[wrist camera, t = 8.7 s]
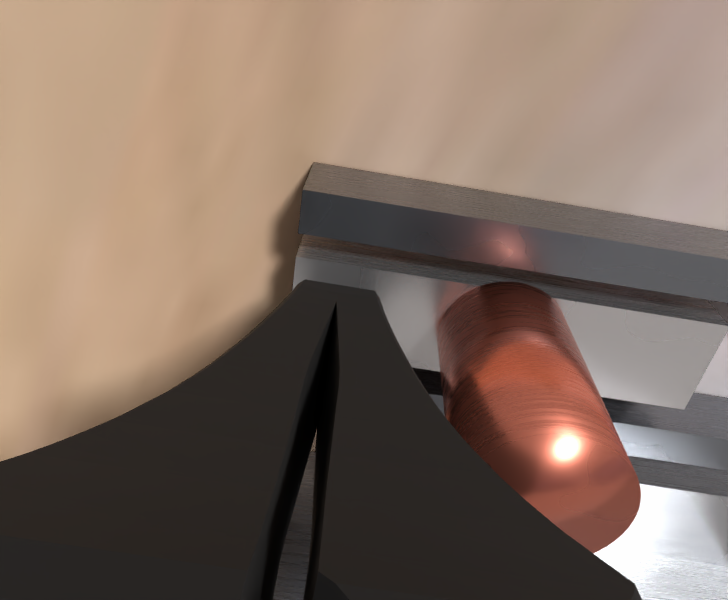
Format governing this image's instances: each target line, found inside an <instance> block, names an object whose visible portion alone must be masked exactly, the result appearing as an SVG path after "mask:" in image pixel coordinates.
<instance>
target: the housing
mask: <svg viewBox="0 0 728 600" xmlns="http://www.w3.org/2000/svg"><path fill="white" fill-rule="evenodd" d="M593 554H595V555H596V556H598V557H599V558H600V559H602V560H603V561H604V562H606V563H607V564H608V565H610V566H611V567H613V568H614V569H615V570H617V571H618V572H619V573H621V574H622V575H624V576H625V577H626V578H628V579H629V580H630V581H632V582H633V583H634V584H635V585H636V587H637V590H638V592H639V594H640V596H641V599H642V600H728V566H724V565H717V564H710V563H703V562H696V561H689V560H682V559H676V558H669V557H662V556H655V555H648V554H641V553H634V552H627V551H620V550H614V549H607V548H603V549H601V550H600V551H598V552H596V553H593Z"/></svg>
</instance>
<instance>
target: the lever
mask: <svg viewBox="0 0 728 600" xmlns="http://www.w3.org/2000/svg"><path fill="white" fill-rule="evenodd" d="M305 279H306V280H312V281H318V282H325V283H331V284H337V285H343V286H350V287H356V288H362V289H368V290H374V291H375V292H376V293H377V294H378V296H379V297H380V300H381V304H382V307H383V309H384V312H385V314H386V317H387V319H388V322H389V324H390V326H391V328H392V330H393V333H394V335H395V337H396V339H397V341H398V343H399V345H400V346H401V348H402V350H403V352H404V354H405V356H406V358H407V359H408V361H409V363H410V365H411V367H412V368H419V369H425V370H432V371H438V372H440V375H441V384H442V394H443V404H444V414H445V417H446V418H447V420H448V421H449V422H450V423H451V425H452V426H453V427H454V428H455V430H456V431H457V432H458V433H459V434H460V436H461V437H462V438H463V439H464V440H465V441H466V442H467V443H468V444H469V445H470V447H471V448H472V449H473V450H474V451H475V452H476V453H477V454H478V455H479V456H480V457H481V458H482V459H483V460H484V461H485V462H486V463H487V464H488V465H489V466H490V467H491V468H492V469H493V470H494V471H495V472H496V473H497V474H498V475H499V476H500V477H501V478H502V479H503V480H504V481H505V482H506V483H507V484H508V485H510V486H511V487H512V488H513V489H514V490H515V491H516V492H517V493H518V494H519V495H520V496H522V497H523V498H524V499H525V500H526V501H527V502H529V503H530V504H531V505H532V506H533V507H534V508H536V509H537V510H538V511H539V512H540V513H542V514H543V515H544V516H545V517H546V518H548V519H549V520H550V521H551V522H552V523H553V524H555V525H556V526H557V527H558V528H560V529H561V530H562V531H563V532H565V533H566V534H567V535H569V536H570V537H571V538H573V539H574V540H576V541H577V542H578V543H580V544H581V545H582V546H584V547H585V548H587V549H588V550H589V551H591V552H592V553H596V552H598V551H600V550H601V549H603V548H605V547H607V546H608V545H610V544H611V543H613V542H614V541H615V540H617V539H618V538H619V537H620V536H621V535H622V534H623V533H624V532H625V531H626V530H627V529H628V528H629V527H630V525H631V524H632V522H633V521H634V519H635V517H636V515H637V513H638V511H639V507H640V503H641V487H640V483H639V480H638V477H637V475H636V473H635V470H634V468H633V466H632V464H631V462H630V459H629V457H628V455H627V453H626V451H625V448H624V446H623V444H622V442H621V440H620V438H619V435H618V433H617V431H616V429H615V427H614V424H613V422H612V420H611V418H610V416H609V413H608V411H607V409H606V407H605V405H604V402H603V400H602V398H601V397H606V398H612V399H619V400H625V401H631V402H638V403H644V404H651V405H657V406H664V407H670V408H676V409H683V410H684V409H685V407H686V405H687V404H688V402H689V400H690V398H691V396H692V394H693V393H694V391H695V389H696V387H697V385H698V384H699V382H700V380H701V378H702V376H703V374H704V373H705V371H706V369H707V367H708V365H709V364H710V362H711V360H712V358H713V356H714V354H715V353H716V351H717V349H718V347H719V345H720V344H721V342H722V340H723V338H724V336H725V334H726V333H727V331H728V324H727V322H726V321H725V320H724V319H723V318H722V317H721V316H720V315H719V313H718V312H717V311H716V310H715V309H714V308H713V307H712V306H711V304H710V303H709V302H708V301H707V300H706V299H700V298H693V297H687V296H681V295H675V294H669V293H663V292H657V291H650V290H644V289H638V288H632V287H626V286H620V285H613V284H607V283H601V282H595V281H589V280H583V279H576V278H570V277H564V276H558V275H552V274H546V273H539V272H533V271H527V270H521V269H515V268H509V267H502V266H496V265H490V264H484V263H478V262H472V261H465V260H459V259H453V258H447V257H441V256H435V255H428V254H422V253H416V252H410V251H404V250H398V249H392V248H385V247H379V246H373V245H367V244H361V243H355V242H348V241H342V240H336V239H330V238H324V237H318V236H311V235H305V234H303V237H302V240H301V243H300V246H299V249H298V252H297V255H296V262H295V271H294V280H293V289H294V288H295V287H296V285H297V284H299V283H300V282H302V281H303V280H305ZM293 289H292V290H293Z"/></svg>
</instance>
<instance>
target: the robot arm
mask: <svg viewBox="0 0 728 600" xmlns="http://www.w3.org/2000/svg"><path fill="white" fill-rule="evenodd" d="M316 429H317V437H316V454H315V472H314V489H313V507H312V525H311V542H310V552H309V562H308V570H307V577H306V584H305V590H304V597H303V600H642V599H641V596H640V594H639V592H638V590H637V587H636V585H635V584H634V583H633V582H632V581H630V580H629V579H628V578H626V577H625V576H624V575H622V574H621V573H619V572H618V571H617V570H615V569H614V568H613V567H611V566H610V565H608V564H607V563H606V562H604V561H603V560H602V559H600V558H599V557H598V556H596V555H595V554H593V553H592V552H591V551H589V550H588V549H587V548H585V547H584V546H582V545H581V544H580V543H578V542H577V541H576V540H574V539H573V538H571V537H570V536H569V535H567V534H566V533H565V532H563V531H562V530H561V529H560V528H558V527H557V526H556V525H555V524H553V523H552V522H551V521H550V520H549V519H548V518H546V517H545V516H544V515H543V514H542V513H540V512H539V511H538V510H537V509H536V508H534V507H533V506H532V505H531V504H530V503H529V502H527V501H526V500H525V499H524V498H523V497H522V496H520V495H519V494H518V493H517V492H516V491H515V490H514V489H513V488H512V487H511V486H510V485H508V484H507V483H506V482H505V481H504V480H503V479H502V478H501V477H500V476H499V475H498V474H497V473H496V472H495V471H494V470H493V469H492V468H491V467H490V466H489V465H488V464H487V463H486V462H485V461H484V460H483V459H482V458H481V457H480V456H479V455H478V454H477V453H476V452H475V451H474V450H473V449H472V448H471V447H470V445H469V444H468V443H467V442H466V441H465V440H464V439H463V438H462V437H461V436H460V434H459V433H458V432H457V431H456V430H455V428H454V427H453V426H452V425H451V423H450V422H449V421H448V420H447V418H446V417H445V416H444V415H443V413H442V412H441V411H440V409H439V408H438V407H437V405H436V404H435V402H434V401H433V399H432V398H431V397H430V395H429V394H428V392H427V390H426V389H425V387H424V386H423V384H422V383H421V381H420V380H419V378H418V377H417V375H416V373H415V372H414V370H413V368H412V367H411V365H410V363H409V361H408V359H407V358H406V356H405V354H404V352H403V350H402V348H401V346H400V345H399V343H398V341H397V339H396V337H395V335H394V333H393V330H392V328H391V326H390V324H389V322H388V319H387V317H386V314H385V312H384V309H383V307H382V304H381V300H380V297H379V296H378V294H377V293H376V292H375V291H374V290H368V289H362V288H356V287H350V286H343V285H337V284H331V283H325V282H318V281H312V280H306V279H305V280H303V281H302V282H300V283H299V284H297V285H296V287H295V288H294V289H293V290H292V292H291V293H290V294H289V295H288V296H287V297H286V298H285V299H284V301H283V302H282V303H281V304H280V305H279V306H278V307H277V308H276V309H275V310H274V311H273V312H272V313H271V314H270V315H269V316H268V317H266V318H265V319H264V320H263V321H262V322H261V323H260V324H259V325H258V326H257V327H256V328H255V329H253V330H252V331H251V332H250V333H249V334H248V335H247V336H246V337H244V338H243V339H242V340H241V341H239V342H238V343H237V344H235V345H234V346H233V347H232V348H230V349H229V350H228V351H227V352H225V353H224V354H223V355H222V356H220V357H219V358H218V359H216V360H215V361H214V362H212V363H211V364H209V365H208V366H207V367H205V368H204V369H202V370H201V371H199V372H198V373H196V374H195V375H193V376H192V377H190V378H189V379H187V380H186V381H184V382H182V383H181V384H179V385H178V386H176V387H174V388H173V389H171V390H169V391H168V392H166V393H164V394H162V395H160V396H158V397H156V398H154V399H152V400H150V401H148V402H146V403H144V404H142V405H140V406H138V407H136V408H135V409H133V410H131V411H129V412H127V413H125V414H123V415H121V416H119V417H117V418H114V419H112V420H110V421H108V422H105V423H103V424H101V425H98V426H96V427H94V428H91V429H89V430H87V431H84V432H82V433H79V434H77V435H74V436H72V437H69V438H67V439H64V440H61V441H59V442H56V443H54V444H51V445H49V446H46V447H43V448H40V449H37V450H35V451H32V452H29V453H26V454H23V455H20V456H17V457H14V458H11V459H7V460H4V461H1V462H0V600H273V596H274V591H275V586H276V580H277V575H278V570H279V564H280V560H281V556H282V551H283V547H284V543H285V539H286V535H287V531H288V528H289V524H290V521H291V517H292V514H293V510H294V507H295V503H296V500H297V496H298V493H299V489H300V486H301V482H302V479H303V475H304V472H305V468H306V465H307V461H308V458H309V454H310V451H311V447H312V444H313V440H314V436H315V433H316Z"/></svg>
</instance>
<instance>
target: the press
mask: <svg viewBox="0 0 728 600" xmlns="http://www.w3.org/2000/svg"><path fill="white" fill-rule="evenodd" d="M298 233H299V234H305V235H311V236H318V237H324V238H330V239H336V240H342V241H348V242H355V243H361V244H367V245H373V246H379V247H385V248H392V249H398V250H404V251H410V252H416V253H422V254H428V255H435V256H441V257H447V258H453V259H459V260H465V261H472V262H478V263H484V264H490V265H496V266H502V267H509V268H515V269H521V270H527V271H533V272H539V273H546V274H552V275H558V276H564V277H570V278H576V279H583V280H589V281H595V282H601V283H607V284H613V285H620V286H626V287H632V288H638V289H644V290H650V291H657V292H663V293H669V294H675V295H681V296H687V297H693V298H700V299H706V300H712V301H718V302H724V303H728V231H723V230H717V229H711V228H705V227H699V226H693V225H687V224H681V223H675V222H669V221H663V220H657V219H651V218H645V217H639V216H633V215H627V214H621V213H615V212H609V211H603V210H597V209H591V208H585V207H579V206H573V205H567V204H561V203H555V202H549V201H543V200H537V199H531V198H525V197H519V196H513V195H507V194H501V193H495V192H489V191H483V190H477V189H471V188H465V187H459V186H453V185H447V184H441V183H435V182H429V181H423V180H417V179H411V178H405V177H399V176H393V175H387V174H381V173H375V172H369V171H363V170H357V169H351V168H345V167H339V166H333V165H327V164H321V163H315V162H314V163H313V165H312V168H311V170H310V173H309V175H308V178H307V180H306V183H305V185H304V188H303V192H302V202H301V211H300V220H299V229H298ZM413 370H414V372H415V373H416V375H417V377H418V378H419V380H420V381H421V383H422V384H423V386H424V387H425V389H426V390H427V392H428V394H429V395H430V397H431V398H432V399H433V401H434V402H435V404H436V405H437V407H438V408H439V409H440V411H441V412H442V413H443V415H444V416H445V414H444V404H443V394H442V384H441V375H440V372H438V371H432V370H425V369H419V368H413ZM601 398H602V400H603V402H604V405H605V407H606V409H607V411H608V413H609V416H610V418H611V420H612V422H613V424H614V427H615V429H616V431H617V433H618V435H619V438H620V440H621V442H622V444H623V446H624V448H625V451H626V453H627V455H628V457H629V459H630V462H631V464H632V466H633V468H634V470H635V473H636V475H637V477H638V480H639V483H640V487H641V503H640V507H639V511H638V513H637V515H636V517H635V519H634V521H633V522H632V524H631V525H630V527H629V528H628V529H627V530H626V531H625V532H624V533H623V534H622V535H621V536H620V537H619V538H618V539H617V540H615V541H614V542H613V543H611V544H610V545H608V546H607V547H605V548H607V549H614V550H620V551H627V552H634V553H641V554H648V555H655V556H662V557H669V558H676V559H682V560H689V561H696V562H703V563H710V564H717V565H724V566H728V398H725V397H719V396H712V395H706V394H699V393H693V394H692V396H691V398H690V400H689V402H688V404H687V405H686V407H685V409H684V410H683V409H676V408H670V407H664V406H657V405H651V404H644V403H638V402H631V401H625V400H619V399H612V398H606V397H601ZM315 454H316V452H310V454H309V458H308V461H307V465H306V468H305V472H304V475H303V479H302V482H301V486H300V489H299V493H298V496H297V500H296V503H295V507H294V510H293V514H292V517H291V521H290V524H289V528H288V531H287V535H286V539H285V543H284V547H283V551H282V556H281V560H280V564H279V570H278V575H277V580H276V586H275V591H274V596H273V600H303V597H304V590H305V584H306V577H307V570H308V562H309V552H310V542H311V525H312V507H313V489H314V472H315Z"/></svg>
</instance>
